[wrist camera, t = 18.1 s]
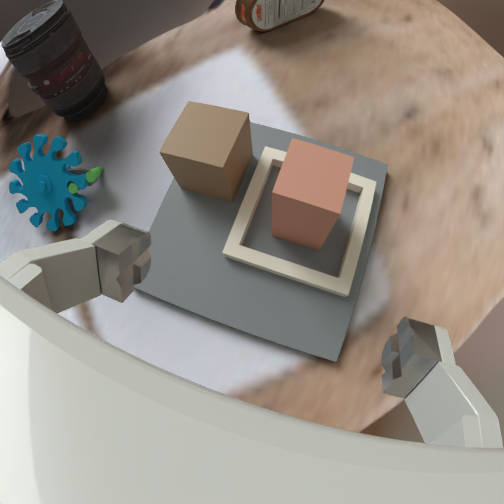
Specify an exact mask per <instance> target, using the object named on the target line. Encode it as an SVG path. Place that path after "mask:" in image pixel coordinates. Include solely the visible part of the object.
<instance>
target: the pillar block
mask: <svg viewBox="0 0 504 504" xmlns="http://www.w3.org/2000/svg"><path fill="white" fill-rule="evenodd" d="M353 161H354V157H352V156H349V155H346V154H343V153H340V152H337V151H334V150H331V149H328V148H325V147H322V146H318V145H315V144H312V143H308V142H305V141H301V140H298V139H294V138H292V140H291V142H290V145H289V148H288V151H287V153H286V156H285V159H284V161H283V164H282V167H281V170H280V172H279V175H278V178H277V180H276V183H275V186H274V189H273V191H272V235H273V236H276V237H279V238H282V239H285V240H288V241H291V242H294V243H297V244H300V245H303V246H306V247H309V248H312V249H315V250H318V251H319V250H320V249H321V247H322V245H323V243H324V242H325V240H326V238H327V236H328V235H329V233H330V231H331V229H332V228H333V226H334V224H335V222H336V221H337V219H338V217H339V215H340V213H341V209H342V205H343V201H344V197H345V193H346V190H347V186H348V182H349V177H350V173H351V169H352V165H353Z"/></svg>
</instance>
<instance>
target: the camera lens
mask: <svg viewBox="0 0 504 504" xmlns="http://www.w3.org/2000/svg"><path fill="white" fill-rule="evenodd" d="M2 47H3V49H4V51H5V53H6V56H7V58H8V59H9V60H10V61H11V63H12V64H13V65H14V67H15V68H16V69H17V70H18V72H19V73H20V74H21V75H22V76H23V77H25V78H26V79H27V80H28V85H29V87H30V88H31V89H32V91H33V92H35V93H36V94H37V95H40V97H41V99H42V100H43V101H44V102H45V103H46V105H47V106H48V107H49V108H51V109H52V110H53V111H54V112H55V113H56V114H57V115H58V116H61V117H64V118H65V119H66V120H68V121H78V120H81V119H83V118H85V117H87V116H89V115H90V114H92V113H93V112H94V111H95V110H96V109H97V108H98V107H99V106H100V105H101V104H102V102H103V100H104V99H105V96H106V93H107V88H106V85H105V78H104V76H103V74H102V71H101V68H100V66H99V64H98V62H97V61H96V59H95V57H94V56H93V55H92V53H91V51H90V50H89V48H88V46H87V44H86V43H85V41H84V39H83V37H82V35H81V31H80V29H79V27H78V24H77V23H76V21H75V19H74V17H73V15H72V13H71V11H70V9H69V8H68V7H67V6H66V5H65V4H64V2H63V1H62V0H55V1H52V2H49V3H47V4H45V5H43V6H41V7H39V8H37V9H35V10H34V11H33V12H31V13H29V14H28V15H27V16H26V17H24V18H23V19H21V20H20V21H19V22H18V23H17V24H16V25H15V26H14V27H13V28H12V29H11V30H10V31H9V32H8V33H7V35H6V36H5V37H4V39H3V41H2Z"/></svg>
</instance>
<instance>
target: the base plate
mask: <svg viewBox="0 0 504 504" xmlns="http://www.w3.org/2000/svg"><path fill="white" fill-rule="evenodd" d="M292 138H294V139H298V140H301V141H305V142H308V143H312V144H315V145H318V146H322V147H325V148H328V149H331V150H334V151H337V152H340V153H343V154H346V155H349V156H352V157H354V161H353V165H352V169H351V173H350V177H349V182H348V186H347V190H346V193H345V197H344V201H343V205H342V209H341V213H340V215H339V217H338V219H337V221H336V222H335V224H334V226H333V228H332V229H331V231H330V233H329V235H328V236H327V238H326V240H325V242H324V243H323V245H322V247H321V249H320V250H319V251H318V250H315V249H312V248H309V247H306V246H303V245H300V244H297V243H294V242H291V241H288V240H285V239H282V238H279V237H276V236H273V235H272V191H273V189H274V186H275V183H276V180H277V178H278V175H279V172H280V170H281V167H282V164H283V161H284V159H285V156H286V153H287V151H288V148H289V145H290V142H291V140H292ZM159 152H160V154H161V156H162V157H163V159H164V161H165V163H166V164H167V166H168V168H169V169H170V171H171V173H172V174H173V176H174V179H173V181H172V183H171V185H170V187H169V189H168V191H167V193H166V196H165V198H164V200H163V202H162V204H161V206H160V208H159V211H158V213H157V215H156V217H155V219H154V222H153V224H152V226H151V228H150V231H149V233H150V235H151V246H150V247H149V248H148V249H147V250H148V252H149V253H150V255H151V266H150V270H149V272H148V274H147V276H146V278H145V279H144V280H143V281H142V282H141V283H139V284H136V285H133V287H134V288H136V289H139V290H141V291H143V292H146V293H148V294H150V295H153V296H155V297H157V298H160V299H162V300H164V301H167V302H169V303H172V304H174V305H177V306H179V307H181V308H184V309H186V310H189V311H191V312H194V313H196V314H199V315H202V316H204V317H207V318H209V319H212V320H214V321H217V322H220V323H222V324H225V325H228V326H230V327H233V328H236V329H239V330H241V331H244V332H247V333H250V334H252V335H255V336H258V337H261V338H264V339H267V340H270V341H273V342H275V343H278V344H281V345H284V346H287V347H290V348H293V349H297V350H300V351H303V352H306V353H309V354H312V355H315V356H319V357H322V358H325V359H328V360H332V361H335V362H337V359H338V356H339V353H340V350H341V347H342V344H343V341H344V338H345V335H346V332H347V329H348V326H349V323H350V320H351V316H352V313H353V310H354V306H355V303H356V300H357V296H358V293H359V289H360V286H361V282H362V279H363V275H364V271H365V267H366V264H367V260H368V256H369V252H370V248H371V244H372V239H373V235H374V231H375V226H376V222H377V217H378V213H379V208H380V203H381V198H382V193H383V188H384V183H385V177H386V172H387V166H388V165H387V164H384V163H382V162H379V161H376V160H374V159H371V158H368V157H365V156H363V155H360V154H357V153H354V152H351V151H348V150H345V149H342V148H339V147H336V146H333V145H330V144H327V143H324V142H320V141H317V140H314V139H310V138H307V137H304V136H300V135H297V134H293V133H290V132H286V131H282V130H279V129H275V128H271V127H267V126H263V125H259V124H255V123H251V122H250V120H249V113H247V112H242V111H237V110H233V109H228V108H223V107H218V106H213V105H207V104H202V103H196V102H190V101H188V103H187V105H186V106H185V108H184V110H183V111H182V113H181V115H180V116H179V118H178V120H177V121H176V123H175V125H174V127H173V128H172V130H171V132H170V133H169V135H168V137H167V139H166V141H165V142H164V144H163V146H162V148H161V150H160V151H159Z"/></svg>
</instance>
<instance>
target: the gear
mask: <svg viewBox="0 0 504 504" xmlns="http://www.w3.org/2000/svg"><path fill="white" fill-rule="evenodd" d="M47 141H48V136H47V135H44V134H38V135H35V136H34V138H33V143H34V147H35V151H34V157H33V160H32V159H31V158H30V151H31V144H30V142H27V143H25V144H22V145H20V146H19V147H18V149H17V150H18V153H19V154H20V155H21V157H22V159H23V162H24V167H25V171H24V170H23V169H22V164H21V161H20V160H19V159H18V158H17V159H15V160H13V161H12V162H11V164H10V166H9V170H10V171H11V172H12V173H15V174H16V175H18V177H19V178H20V179H21V181H22V183H23V186H22V185H21V183H20V182H19V181H18V180H17V179H15V180H13V181H11V182H10V185H9V190H10V193H12V194H14V193H21V194H23V195H25V196H26V197H27V198H28V201H27V200H25V199H21V200H20V201H19V202H17V203H16V206H17V209H18V211H19V213H23V212H25V211H26V210H27V209H28V207H36V208H37V209H38V213H35V214H34V215H33V216H31V217H30V222H31V223H32V224H33V225H34V226H35V227H38V226H39V225H40V224H41V223H42V221H43V215H44V213H45V212H49V213H50V214H51V220H50V221H48V222H47V229H49V230H51V231H56V230H57V229H58V228H59V227H60V222H59V219H58V211H59V208H60V209H62V210H63V212H64V216H63V224H64V225H65V226H68V225H71V224H73V223H74V222H75V221H76V220H77V217H76V215H75V214H74V213H73V212H72V210H71V209H70V206H69V203H68V197H69V198H71V199H72V201H73V206H74V208H75V210H76V211H78V212H79V211H80V210H81V209H82V208H84V206H85V205H86V204H87V202H88V200H87V198H86V197H84V196H81V195H79V194H78V193H76V192H77V191H79V190H80V189H85V188H86V187H87V186H91V185H92V184H94V183H95V182H96V181H97V179H98V177H100V175H101V172H102V170H103V168H102V167H101V166H98V167H96V168H79V169H71V167H70V166H73V167H75V166H77V165H79V164H80V163H81V162H82V158H81V155H80V153H79V151H75V152H73V153H71V154H69V156H68V157H67V158H66V159H60V160H59V159H57V158H56V156H55V152H56V151H59V150H61V149H63V148H65V147H66V145H67V142H66V141H65V139H64V138H63V137H61V136H58V137H56V138H54V139H53V141H52V145H51V148H50V150H49V152H48V153H47V154H46V155H44V154H43V153H42V147H43V146H44V145H45V144H46V143H47ZM66 164H68V165H66ZM69 165H70V166H69Z"/></svg>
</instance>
